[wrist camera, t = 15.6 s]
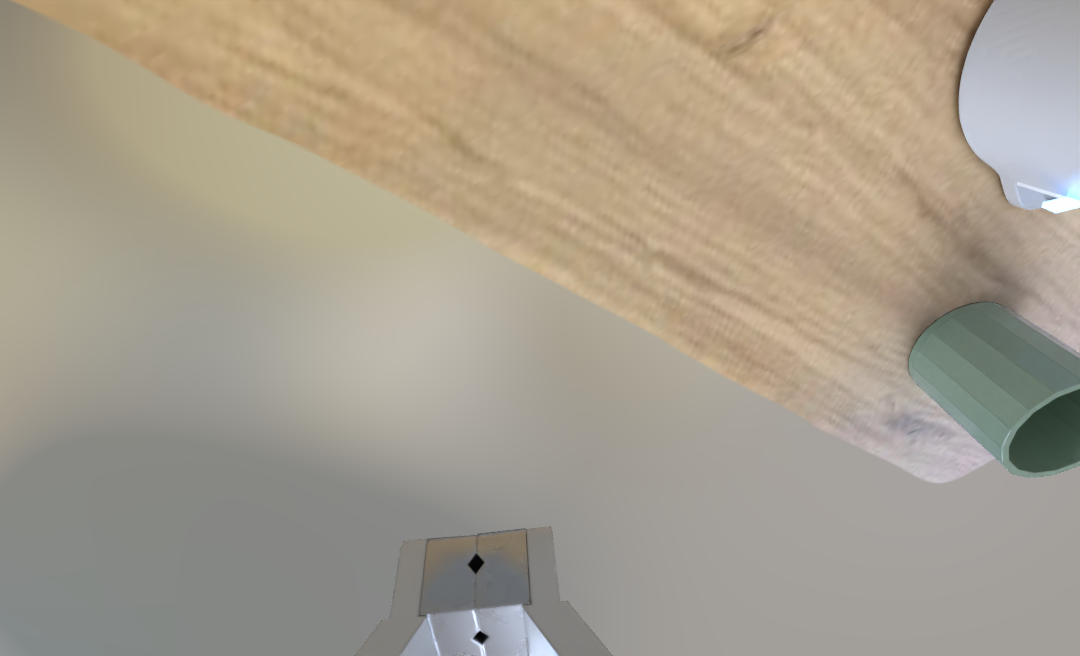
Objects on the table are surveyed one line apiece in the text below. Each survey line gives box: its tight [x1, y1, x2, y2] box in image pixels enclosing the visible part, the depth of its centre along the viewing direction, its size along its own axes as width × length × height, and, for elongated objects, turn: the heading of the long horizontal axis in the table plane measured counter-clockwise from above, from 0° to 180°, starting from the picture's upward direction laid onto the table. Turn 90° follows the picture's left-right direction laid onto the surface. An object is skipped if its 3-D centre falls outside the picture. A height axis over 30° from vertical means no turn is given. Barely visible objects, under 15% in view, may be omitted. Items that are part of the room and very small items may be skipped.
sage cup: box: [908, 302, 1080, 478], centre depth 40 cm, size 8×8×10 cm
